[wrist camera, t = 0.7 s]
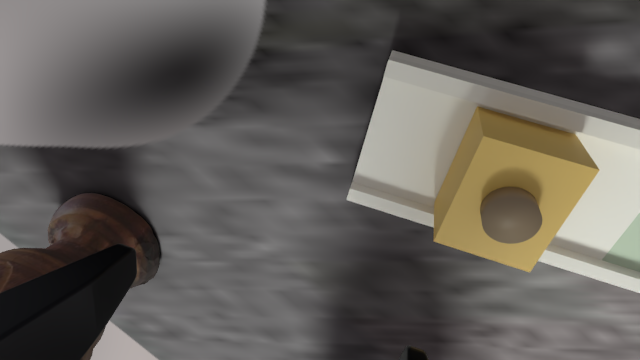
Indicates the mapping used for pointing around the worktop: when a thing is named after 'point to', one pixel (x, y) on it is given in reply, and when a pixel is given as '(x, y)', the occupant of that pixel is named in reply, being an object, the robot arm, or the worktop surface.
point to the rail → (445, 138)
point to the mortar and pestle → (84, 242)
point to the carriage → (510, 188)
